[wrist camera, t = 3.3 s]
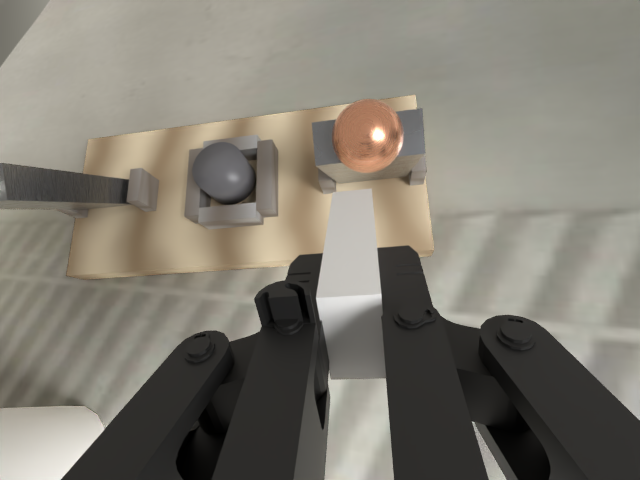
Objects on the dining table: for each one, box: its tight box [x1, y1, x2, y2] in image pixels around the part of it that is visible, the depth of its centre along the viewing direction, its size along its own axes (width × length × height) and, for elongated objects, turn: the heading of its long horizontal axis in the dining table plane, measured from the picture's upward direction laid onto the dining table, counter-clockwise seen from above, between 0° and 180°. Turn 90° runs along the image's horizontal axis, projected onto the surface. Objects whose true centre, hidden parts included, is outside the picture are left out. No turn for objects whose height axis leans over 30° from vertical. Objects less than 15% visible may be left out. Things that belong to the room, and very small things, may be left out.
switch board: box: [55, 95, 434, 280], centre depth 30 cm, size 30×13×4 cm, turn 92°
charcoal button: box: [192, 142, 256, 205], centre depth 28 cm, size 4×4×3 cm
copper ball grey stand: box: [312, 99, 425, 184], centre depth 22 cm, size 5×3×14 cm, turn 92°
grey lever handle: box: [0, 163, 132, 210], centre depth 25 cm, size 5×3×14 cm, turn 92°
